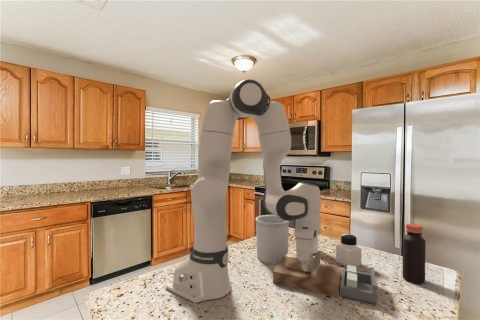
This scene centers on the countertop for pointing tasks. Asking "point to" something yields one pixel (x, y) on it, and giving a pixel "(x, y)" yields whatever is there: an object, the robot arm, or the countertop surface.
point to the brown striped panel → (324, 281)
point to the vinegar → (414, 254)
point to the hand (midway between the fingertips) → (307, 264)
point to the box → (360, 287)
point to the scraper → (293, 262)
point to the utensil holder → (271, 238)
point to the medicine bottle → (348, 251)
